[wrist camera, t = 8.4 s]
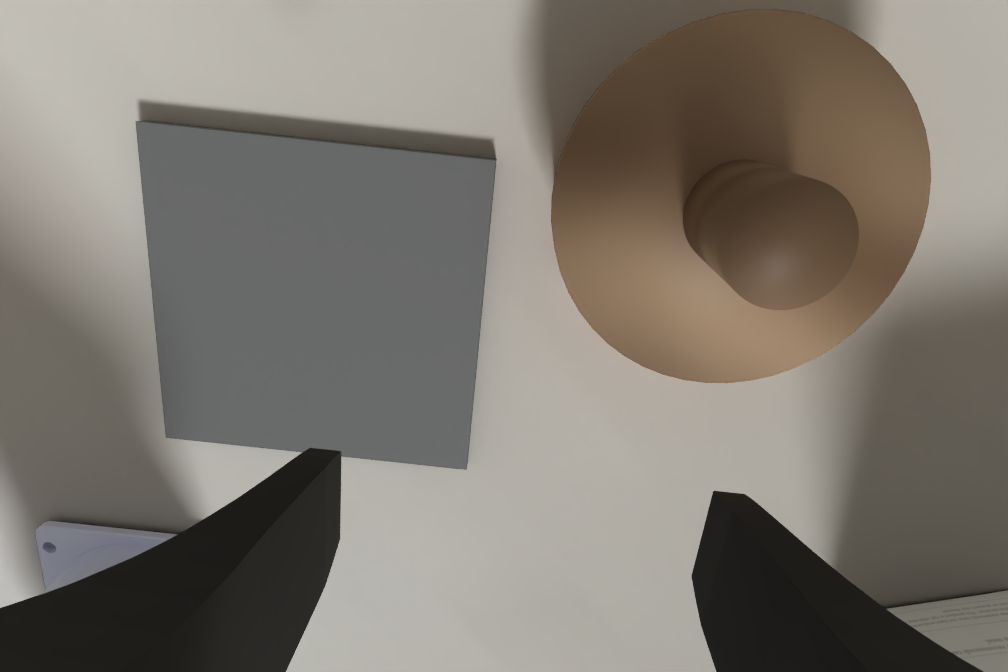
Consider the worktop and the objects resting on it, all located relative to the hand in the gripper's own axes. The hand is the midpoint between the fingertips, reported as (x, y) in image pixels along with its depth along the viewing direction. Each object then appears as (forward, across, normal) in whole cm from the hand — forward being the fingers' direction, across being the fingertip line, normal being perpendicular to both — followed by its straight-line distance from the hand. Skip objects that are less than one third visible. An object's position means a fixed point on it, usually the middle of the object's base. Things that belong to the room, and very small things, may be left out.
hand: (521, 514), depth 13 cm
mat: (+10, +7, 0) cm, 13 cm away
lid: (+7, -5, -5) cm, 10 cm away
